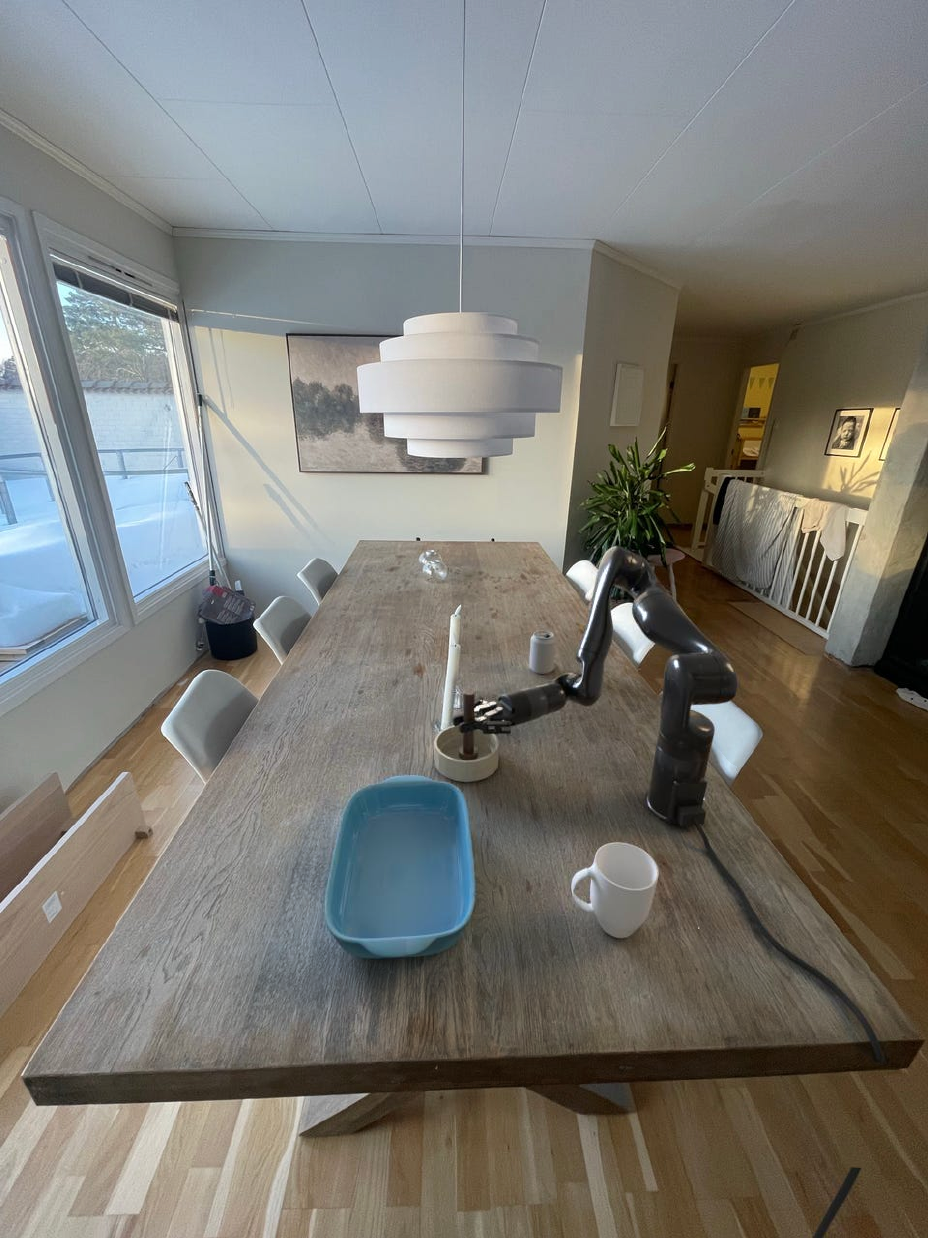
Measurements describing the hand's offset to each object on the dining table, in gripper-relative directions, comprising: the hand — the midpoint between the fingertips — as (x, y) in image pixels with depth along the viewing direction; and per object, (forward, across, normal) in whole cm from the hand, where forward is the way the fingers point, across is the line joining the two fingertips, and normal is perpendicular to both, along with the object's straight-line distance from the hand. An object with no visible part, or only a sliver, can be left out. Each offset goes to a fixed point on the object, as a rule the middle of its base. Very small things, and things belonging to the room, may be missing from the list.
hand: (456, 725), depth 110 cm
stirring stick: (-3, 0, +9) cm, 9 cm away
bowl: (-2, 0, +10) cm, 11 cm away
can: (-45, -29, +11) cm, 55 cm away
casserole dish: (+22, +22, +11) cm, 33 cm away
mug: (-2, +45, +11) cm, 46 cm away
